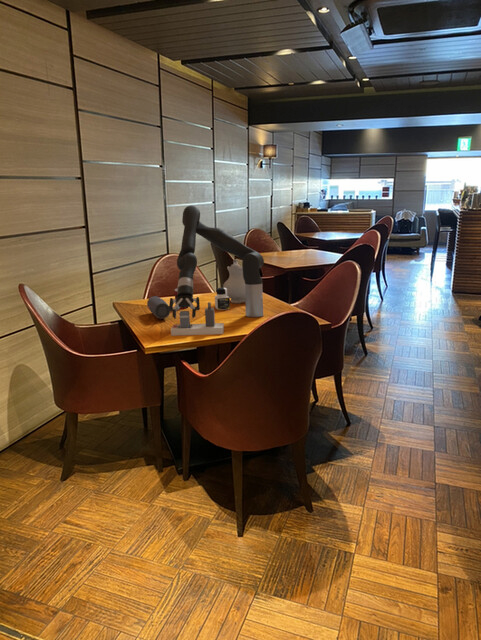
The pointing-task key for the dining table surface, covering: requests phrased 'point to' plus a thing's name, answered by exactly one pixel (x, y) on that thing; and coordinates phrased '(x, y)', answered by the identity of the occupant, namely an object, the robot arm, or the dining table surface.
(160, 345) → the dining table surface
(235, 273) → the ceramic pitcher
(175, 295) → the canned food
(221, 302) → the medicine bottle
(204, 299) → the dining table surface
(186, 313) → the plug
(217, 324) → the strip
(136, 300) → the dining table surface
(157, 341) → the dining table surface
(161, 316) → the bluetooth speaker
